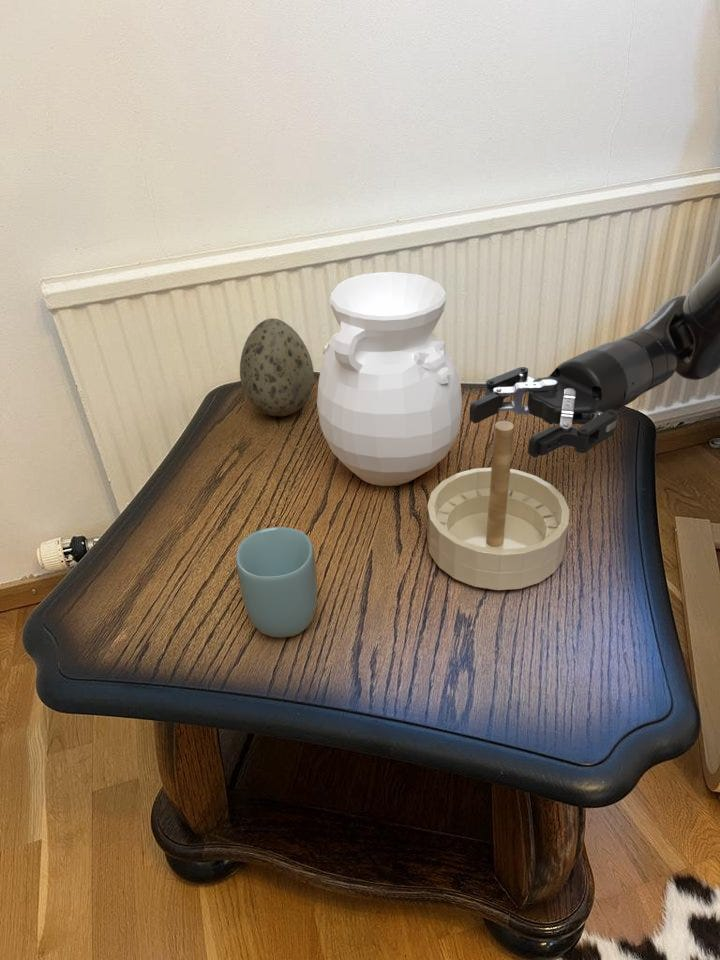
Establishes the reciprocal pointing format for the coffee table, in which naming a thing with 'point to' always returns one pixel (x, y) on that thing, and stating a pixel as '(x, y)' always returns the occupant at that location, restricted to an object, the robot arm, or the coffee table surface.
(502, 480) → the stick
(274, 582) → the cup
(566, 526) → the bowl
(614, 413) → the robot arm
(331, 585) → the coffee table surface
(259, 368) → the decorative egg
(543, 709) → the coffee table surface
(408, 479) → the white vase
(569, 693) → the coffee table surface
